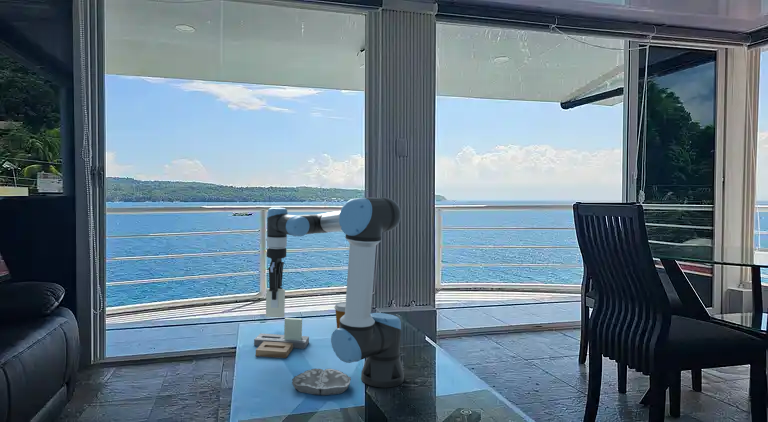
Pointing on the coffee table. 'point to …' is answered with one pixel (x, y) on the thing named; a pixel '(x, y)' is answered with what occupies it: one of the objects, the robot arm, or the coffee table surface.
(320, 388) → the brain slice
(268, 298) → the pale green slab
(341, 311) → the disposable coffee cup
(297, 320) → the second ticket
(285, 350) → the frame
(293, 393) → the coffee table surface
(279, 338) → the grey slotted plate
